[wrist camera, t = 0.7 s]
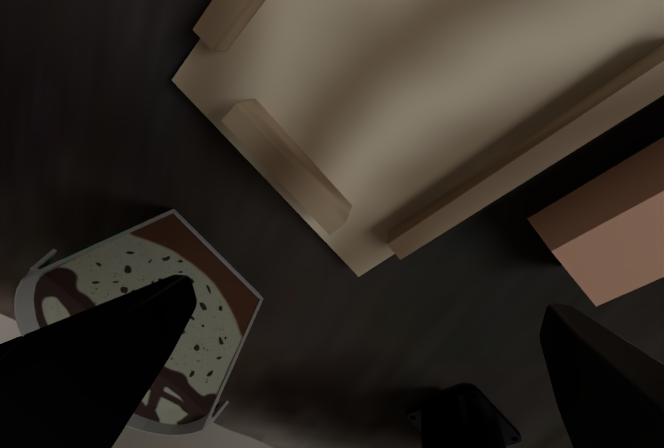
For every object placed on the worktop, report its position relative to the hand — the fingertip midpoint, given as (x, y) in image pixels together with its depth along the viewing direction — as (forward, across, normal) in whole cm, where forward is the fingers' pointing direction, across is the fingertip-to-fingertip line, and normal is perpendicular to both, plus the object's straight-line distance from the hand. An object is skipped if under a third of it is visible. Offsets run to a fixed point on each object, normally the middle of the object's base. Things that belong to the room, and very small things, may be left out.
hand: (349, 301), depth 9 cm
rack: (+13, -2, -6) cm, 14 cm away
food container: (+13, +14, +9) cm, 21 cm away
